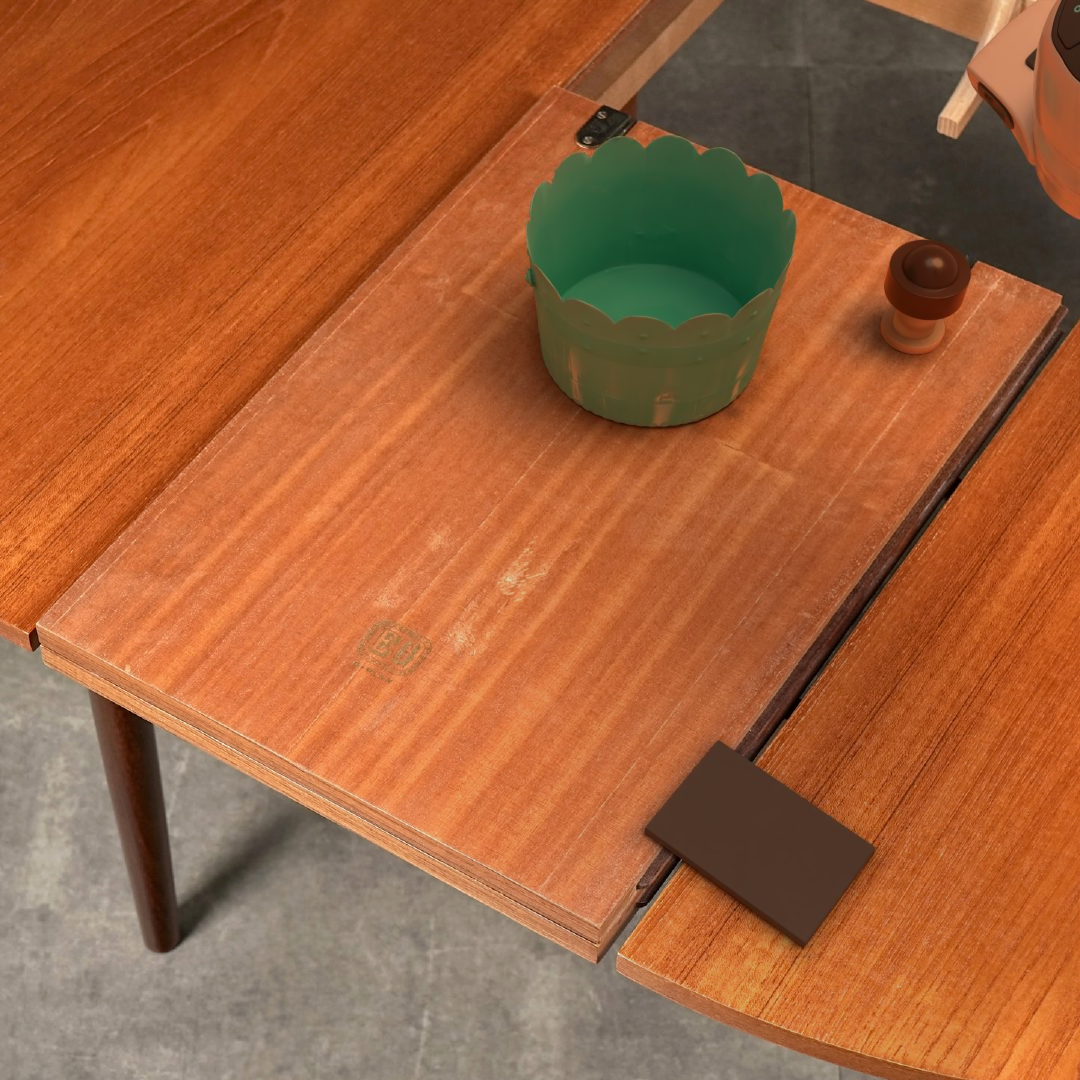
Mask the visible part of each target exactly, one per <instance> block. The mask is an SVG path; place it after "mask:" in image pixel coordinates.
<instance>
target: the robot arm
mask: <svg viewBox="0 0 1080 1080" xmlns="http://www.w3.org/2000/svg"><path fill="white" fill-rule="evenodd" d="M966 73H967V77H968V79H969V82H970V84H971V87H972V88H973V89H974V91H975V92H976V94H977V95H978V96H979V97H980V98H981V100H983V101H984V102H985V103H986V104H987V105H988V106H989V107H990V108H991V109H992V111H994V112H995V114H996V115H997V116H998V118H1000V120H1001V121H1002V122H1003V124H1004V125H1005V127H1006V128H1007V129H1008V130H1010V131H1011V133H1012V134H1013V136H1014V138H1015V139H1016V141H1017V143H1018V144H1019V146H1020V148H1021V150H1022V152H1023V154H1024V157H1025V158H1026V160H1027V161H1028V163H1029V164H1030V165H1031V166H1034V168H1035V172H1036V175H1037V178H1038V180H1039V182H1040V184H1041V186H1042V188H1043V190H1044V191H1045V193H1046V194H1047V196H1048V197H1049V198H1050V199H1051V200H1052V202H1053V203H1055V205H1057V207H1059V208H1060V209H1061V210H1062V211H1064V212H1065V213H1067V214H1068V215H1070V216H1071V217H1073V218H1075V219H1077V220H1079V221H1080V0H1036V1H1034V2H1033V3H1031V4H1030V5H1029V6H1027V7H1026V8H1025V9H1023V10H1022V11H1021V12H1020V13H1019V14H1017V15H1016V16H1015V17H1013V19H1012V20H1010V21H1009V22H1008V23H1007V24H1006V25H1004V27H1002V28H1001V29H1000V30H999V31H998V32H996V33H995V35H994V36H993V37H992V38H990V40H989V41H988V42H987V43H986V44H985V45H984V46H983V47H982V48H981V50H980V51H978V53H977V54H976V55H975V56H974V58H972V59H971V61H970V62H969V63H968V64H967V66H966Z"/></svg>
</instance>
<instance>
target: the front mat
mask: <svg viewBox="0 0 1080 1080" xmlns="http://www.w3.org/2000/svg"><path fill="white" fill-rule="evenodd" d="M644 834H645V835H646V836H648V837H650V838H651V839H653V840H654V841H655V842H656V843H658V844H659V845H661V846H662V847H663V848H665V849H666V850H668V851H669V852H670V853H671V854H672V855H673V854H674V855H675V856H676V857H677V858H679V859H680V860H681V861H683V862H685V864H687V865H689V866H690V867H692V868H693V869H694V870H695V871H697V872H698V873H700V874H701V875H702V876H703V877H705V878H707V880H709V881H711V882H712V883H714V884H715V885H716V886H717V887H719V888H720V889H722V890H723V891H724V892H726V893H727V894H729V895H730V896H731V897H733V898H734V899H736V900H737V901H739V902H740V903H741V904H742V905H744V906H745V907H746V908H748V909H749V910H751V911H752V912H754V913H755V914H756V915H758V916H759V917H761V918H762V919H763V920H765V921H766V922H768V923H769V924H770V925H772V926H773V927H774V928H776V929H777V930H779V931H780V932H782V933H783V934H784V935H785V936H786V937H788V938H789V939H791V940H792V941H794V942H795V943H797V944H798V945H799V946H801V947H802V948H805V947H806V946H807V944H808V943H809V942H810V941H811V939H812V938H813V936H814V935H815V934H816V932H817V931H818V929H819V928H820V927H821V926H822V924H823V923H824V921H825V920H826V919H827V917H828V916H829V915H830V913H831V912H832V910H833V909H834V908H835V907H836V905H837V904H838V902H840V900H841V899H842V897H843V896H844V895H845V893H846V891H847V890H848V889H849V888H850V886H851V885H852V884H853V883H854V881H855V880H856V878H857V877H858V875H859V874H860V873H861V872H862V870H863V869H864V867H865V866H866V864H868V862H869V861H870V859H871V858H872V857H873V856H874V854H875V852H876V850H877V848H876V846H875V845H873V844H872V843H871V842H869V841H868V840H866V839H865V838H862V837H861V836H860V835H859V834H857V833H856V832H854V831H852V829H849V827H847V826H845V825H844V824H843V823H842V822H840V821H838V820H836V819H835V818H834V817H832V816H831V815H829V814H828V813H826V812H825V811H823V810H822V809H820V808H819V807H817V806H816V805H815V804H813V803H812V802H810V801H808V800H807V799H806V798H804V797H803V796H801V795H800V794H799V793H797V792H795V791H794V790H793V789H791V788H790V787H789V786H787V785H785V784H784V783H783V782H781V781H780V780H778V779H777V778H775V777H774V776H772V775H771V774H769V773H768V772H766V771H765V770H763V768H761V767H759V766H758V765H756V764H755V763H753V762H752V761H750V760H749V759H748V758H746V757H745V756H743V755H742V754H740V753H739V752H737V751H736V750H734V749H733V748H732V747H730V746H729V745H727V744H726V743H724V742H723V741H721V740H720V739H717V740H716V742H715V743H714V744H713V745H712V747H710V749H709V750H708V751H707V752H706V753H705V754H704V756H703V757H702V759H701V760H700V761H699V762H698V763H697V764H696V766H695V767H694V768H693V769H692V770H691V772H690V773H689V774H688V775H687V777H685V778H684V780H683V781H682V782H681V783H680V784H679V786H678V787H677V789H675V791H674V792H673V793H672V795H670V797H669V798H668V799H667V800H666V802H664V804H663V805H662V807H661V808H660V809H659V810H658V811H657V812H656V814H655V815H654V816H653V817H652V818H651V820H649V822H648V823H647V824H646V825H645V827H644Z"/></svg>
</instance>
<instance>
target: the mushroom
mask: <svg viewBox="0 0 1080 1080" xmlns="http://www.w3.org/2000/svg"><path fill="white" fill-rule="evenodd" d="M971 269H972V268H971V265H970V263H969V261H968V259H967V258H966V257H965V256H964V254H962V252H960V251H959V250H958V249H957V248H955V247H953V246H951V245H949V244H947V243H945V242H942V241H939V240H935V239H915V240H911V241H910V240H909V241H908V242H906V243H903V244H901V245H900V246H898V247H897V248H896V249H895V250H894V252H892V255H891V256H890V260H889V263H888V267H887V270H886V274H885V278H884V281H883V291H884V294H885V297H886V299H887V300H888V302H889V304H890V305H891V306H889V307H888V308H886V310H885V311H884V312H883V315H882V319H881V322H880V333H881V336H882V338H883V340H884V341H885V342H886V343H887V344H888V345H889V346H890V347H891V348H893V349H894V350H895V351H899V352H900V353H904V354H908V355H923V354H928V353H930V352H932V351H934V350H936V349H937V348H938V347H939V346H940V345H941V343H942V341H943V338H944V335H945V331H946V326H945V321H944V320H943V319H946V318H949V317H951V316H952V315H954V314H955V313H956V312H958V311H959V310H960V308H961V307H962V305H963V303H964V300H965V297H966V293H967V291H968V288H969V285H970V282H971V280H972V279H971V278H972V270H971Z"/></svg>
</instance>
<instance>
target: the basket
mask: <svg viewBox="0 0 1080 1080" xmlns="http://www.w3.org/2000/svg"><path fill="white" fill-rule="evenodd" d="M647 144H648V145H646V146H645V147H644V146H643V144H642V143H641V142H640V141H638V139H635V138H633V137H631V136H627V135H618V136H614V137H611V138H609V139H607V140H606V141H604V142H603V143H601V144H600V145H599V147H598V148H595V150H594V151H593V154H592V155H589V154H588V153H586V152H584V151H577V152H572V153H570V154H569V155H567V156H566V157H564V158H563V159H562V160H561V162H560V163H559V165H557V166H556V168H555V169H554V170H553V172H554V174H553V178H552V179H551V182H550V181H548V180H545V181H542V182H540V183H539V184H538V185H537V186H536V188H535V190H534V192H533V195H532V197H531V198H530V202H529V210H528V211H529V212H528V216H529V219H527V220H526V222H525V243H526V247H527V248H526V254H527V256H528V259H529V268H527V269H526V270H525V273H526V274H524V281H525V282H527V283H528V285H529V287H531V288H532V287H533V289H532V290H533V294H534V300H535V308H536V315H537V326H538V333H539V341H540V350H541V356H542V359H543V362H544V366H545V367H546V369H547V372H548V374H549V376H550V377H551V378H552V380H553V382H554V383H555V384H556V385H557V386H558V388H559V389H560V390H561V392H563V393H565V395H566V397H568V398H569V399H571V400H572V401H573V402H574V403H575V404H577V405H578V406H581V407H582V408H583V409H584V410H586V411H588V412H591V413H592V414H593V415H596V416H601V417H602V418H604V419H605V420H606V419H607V420H612V421H613V422H615V423H619V424H620V423H623V424H625V425H629V426H633V425H634V426H637V427H649V428H656V427H660V428H665V427H668V426H673V427H674V426H675V427H676V426H679V425H682V424H683V425H687V424H689V423H693V422H695V423H696V422H699V421H701V420H702V419H705V418H707V417H710V416H712V415H713V414H717V413H718V412H720V411H721V410H722V409H724V408H726V407H727V406H729V404H731V403H732V402H734V401H735V400H736V399H737V398H738V397H739V396H740V395H741V394H742V393H743V391H744V390H745V389H746V388H747V387H748V385H749V384H750V381H751V380H752V378H753V376H754V373H755V372H756V369H757V367H758V362H759V358H760V356H761V352H762V350H763V347H764V343H765V340H766V337H767V333H768V331H769V328H770V325H771V323H772V319H773V316H774V313H775V309H776V308H777V304H778V302H779V299H780V297H781V296H782V289H783V287H784V284H785V282H786V280H787V273H788V271H789V268H790V265H791V263H792V260H793V257H794V255H795V252H796V251H795V250H794V247H795V243H796V239H797V238H796V237H797V232H798V231H797V229H798V220H797V219H798V218H797V215H796V214H795V211H794V210H793V209H791V208H787V209H785V210H784V204H785V203H784V195H783V193H782V188H781V187H780V185H779V184H778V182H777V180H776V179H775V178H774V177H773V176H771V175H769V173H766V172H764V171H763V172H756V173H753V174H751V175H749V174H748V169H747V168H746V165H745V164H744V162H743V160H742V159H741V158H740V156H739V155H737V153H735V152H734V151H732V150H730V149H728V148H726V147H722V146H719V147H711V148H709V149H706V150H704V151H703V152H702V153H699V151H698V150H697V148H696V147H695V145H694V144H693V143H692V142H691V141H690V140H689V139H687V138H685V137H683V136H679V135H675V134H666V135H661V136H658V137H656V138H654V139H652V140H651V141H650V142H649V143H647Z"/></svg>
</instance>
